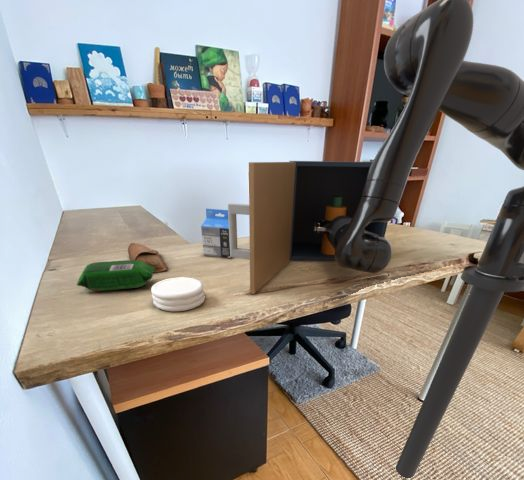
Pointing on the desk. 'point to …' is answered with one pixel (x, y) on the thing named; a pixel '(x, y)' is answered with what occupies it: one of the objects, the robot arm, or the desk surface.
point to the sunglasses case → (146, 256)
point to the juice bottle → (330, 214)
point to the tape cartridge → (216, 234)
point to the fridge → (324, 202)
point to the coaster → (178, 294)
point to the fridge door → (265, 220)
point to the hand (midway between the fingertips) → (332, 222)
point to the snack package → (115, 275)
